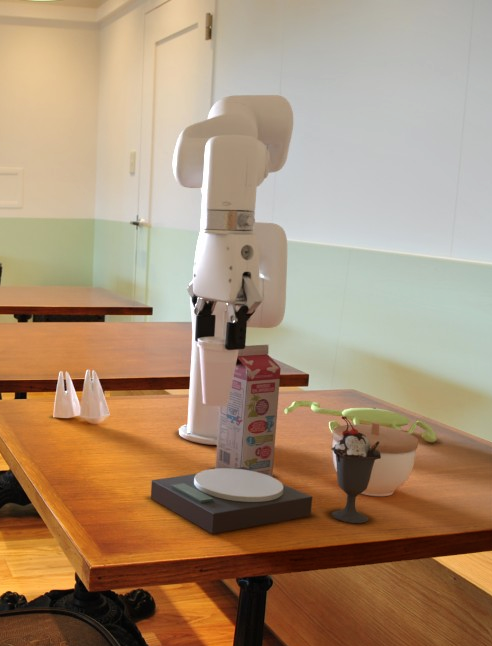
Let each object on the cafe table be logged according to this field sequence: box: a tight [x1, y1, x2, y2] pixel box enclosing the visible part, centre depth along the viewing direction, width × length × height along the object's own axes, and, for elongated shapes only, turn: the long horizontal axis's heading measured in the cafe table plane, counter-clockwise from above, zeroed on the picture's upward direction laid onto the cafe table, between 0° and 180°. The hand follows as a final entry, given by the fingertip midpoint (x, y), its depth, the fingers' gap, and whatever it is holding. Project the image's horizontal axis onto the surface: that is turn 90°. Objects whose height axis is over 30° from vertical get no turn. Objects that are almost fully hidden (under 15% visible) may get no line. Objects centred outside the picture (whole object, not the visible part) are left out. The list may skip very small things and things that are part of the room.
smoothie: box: [197, 311, 239, 406], centre depth 124 cm, size 6×6×14 cm
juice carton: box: [215, 344, 281, 477], centre depth 139 cm, size 7×7×22 cm
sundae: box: [330, 416, 381, 524], centre depth 121 cm, size 7×7×15 cm
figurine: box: [283, 400, 437, 443], centre depth 167 cm, size 18×27×6 cm
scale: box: [150, 467, 313, 535], centre depth 125 cm, size 18×15×4 cm
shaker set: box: [53, 369, 111, 425], centre depth 172 cm, size 12×4×11 cm, turn 53°
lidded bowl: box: [331, 422, 419, 497], centre depth 134 cm, size 13×13×11 cm
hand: (219, 344), depth 123 cm, fingers closed on smoothie, 6 cm apart
